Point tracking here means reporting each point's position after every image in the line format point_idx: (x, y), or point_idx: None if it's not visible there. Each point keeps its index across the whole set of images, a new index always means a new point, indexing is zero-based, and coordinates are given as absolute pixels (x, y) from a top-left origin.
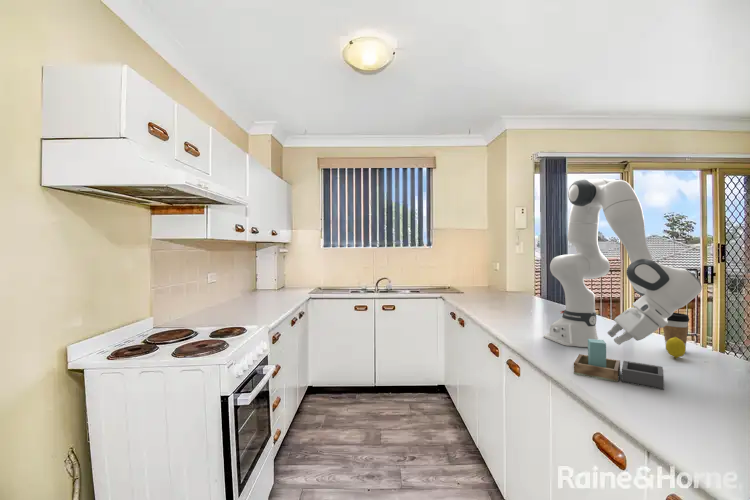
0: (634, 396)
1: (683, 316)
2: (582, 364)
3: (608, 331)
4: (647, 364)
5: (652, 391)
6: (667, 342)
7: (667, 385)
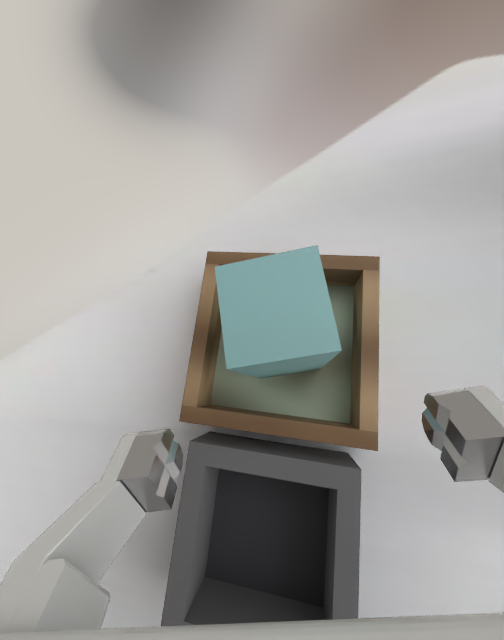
0: (79, 457)
1: None
2: (205, 283)
3: (497, 398)
4: (354, 606)
5: (151, 534)
6: None
7: None
